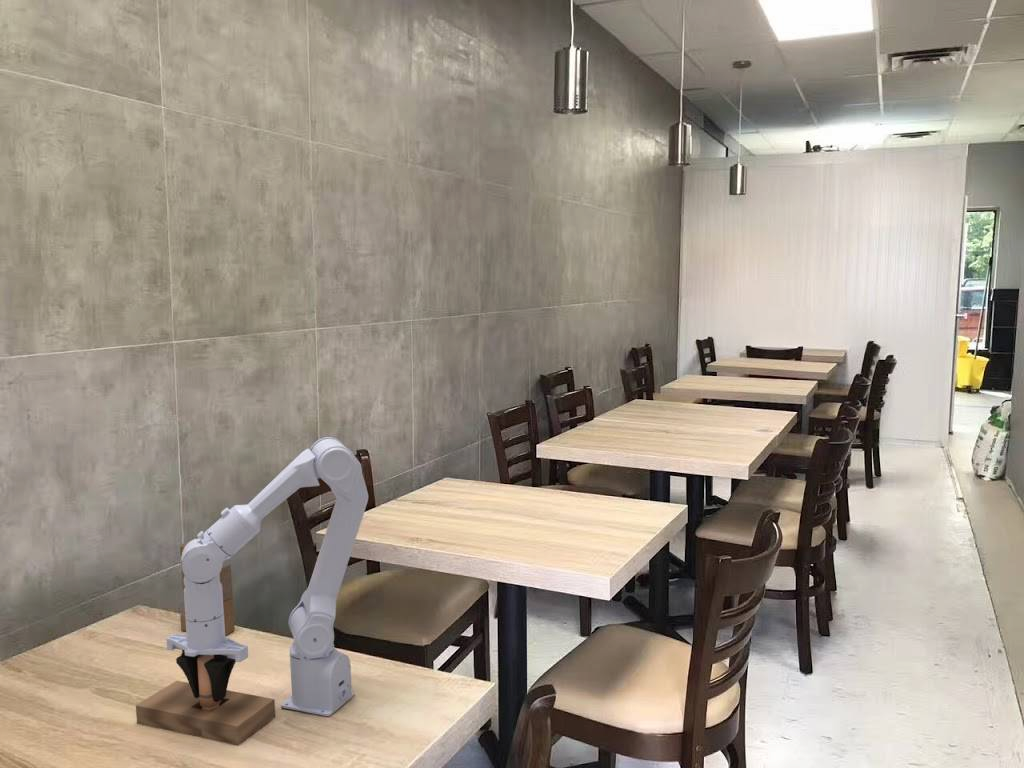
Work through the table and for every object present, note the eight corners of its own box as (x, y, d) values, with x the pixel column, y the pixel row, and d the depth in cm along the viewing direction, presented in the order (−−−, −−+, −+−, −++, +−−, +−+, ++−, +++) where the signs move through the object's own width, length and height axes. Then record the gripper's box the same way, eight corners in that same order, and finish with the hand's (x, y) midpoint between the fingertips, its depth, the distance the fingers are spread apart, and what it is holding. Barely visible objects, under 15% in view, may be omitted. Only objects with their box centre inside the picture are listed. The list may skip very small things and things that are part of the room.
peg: (226, 707, 135) (223, 654, 134) (213, 717, 132) (209, 663, 131) (209, 705, 136) (205, 652, 135) (195, 714, 133) (192, 660, 132)
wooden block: (223, 637, 167) (218, 550, 165) (180, 631, 170) (174, 545, 168) (235, 630, 170) (230, 545, 168) (193, 624, 174) (187, 540, 172)
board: (275, 716, 135) (274, 699, 135) (238, 745, 127) (237, 726, 126) (178, 697, 142) (176, 680, 142) (136, 723, 134) (135, 705, 133)
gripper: (149, 619, 131) (155, 701, 132) (224, 630, 126) (229, 716, 127) (182, 603, 138) (187, 681, 139) (254, 613, 132) (259, 695, 134)
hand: (209, 697), depth 134 cm, fingers closed on peg, 3 cm apart
